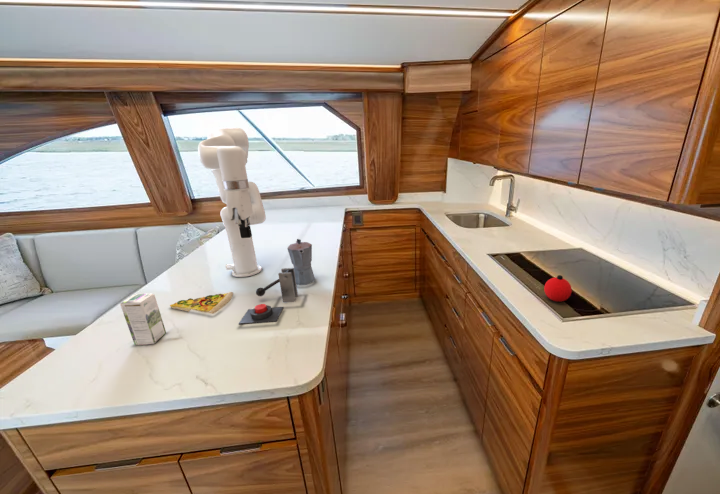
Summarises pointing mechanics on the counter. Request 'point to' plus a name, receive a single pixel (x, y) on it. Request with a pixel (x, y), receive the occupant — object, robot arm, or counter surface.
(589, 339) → the counter surface
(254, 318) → the control block
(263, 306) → the button
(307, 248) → the moka pot
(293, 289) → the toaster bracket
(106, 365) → the counter surface
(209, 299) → the pizza slice
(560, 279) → the ornament
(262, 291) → the lever
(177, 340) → the counter surface
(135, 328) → the syrup box
